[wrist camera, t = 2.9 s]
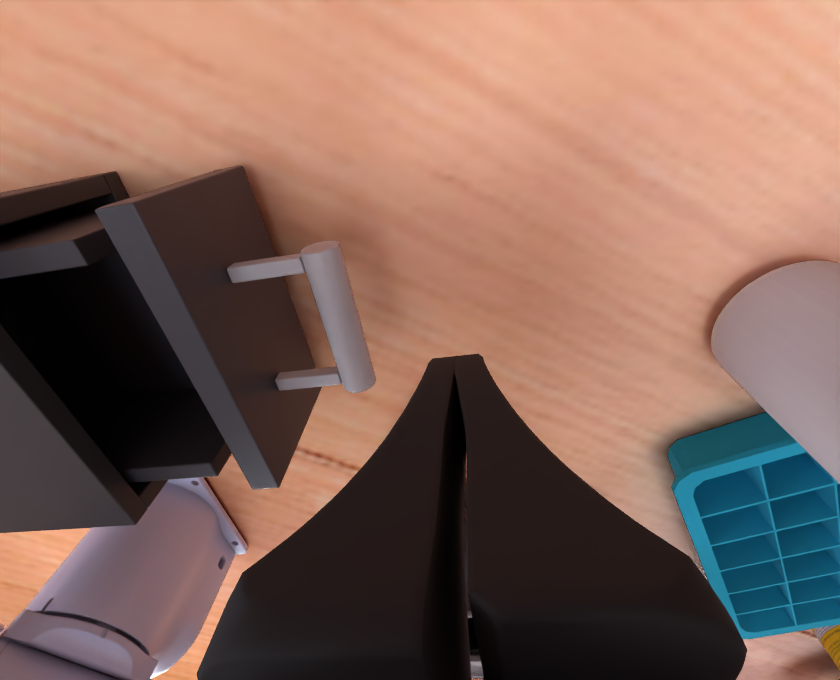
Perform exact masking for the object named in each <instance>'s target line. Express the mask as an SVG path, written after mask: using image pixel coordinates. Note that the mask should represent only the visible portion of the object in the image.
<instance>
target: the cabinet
mask: <svg viewBox="0 0 840 680" xmlns="http://www.w3.org/2000/svg"><path fill="white" fill-rule="evenodd" d="M128 198H129V196H128V194H127V192H126V190H125V188H124V186H123V185H122V183H121V181H120V179H119V177H118V175H117V173H116V172H109V173H103V174H98V175H93V176H87V177H82V178H77V179H71V180H66V181H61V182H55V183H50V184H44V185H39V186H34V187H28V188H23V189H18V190H12V191H7V192H2V193H0V227H5V226H10V225H16V224H22V223H28V222H33V221H39V220H45V219H51V218H56V217H62V216H68V215H74V214H79V213H85V212H91V211H95V210H96V209H97V208H100V207H103V206H106V205H109V204H112V203H115V202H118V201H121V200H125V199H128ZM167 481H168V480H159V481H145V482H131V483H127V482H126V481H125V480H124V478H123V477H122V476H121V475H120V473H119V472H118V471H117V470H116V468H115V467H114V466H113V464H112V463H111V462H110V461H109V459H108V458H107V457H106V456H105V454H104V453H103V452H102V451H101V449H100V448H99V447H98V446H97V444H96V443H95V442H94V441H93V439H92V438H91V437H90V436H89V434H88V433H87V432H86V431H85V429H84V428H83V427H82V426H81V424H80V423H79V422H78V420H77V419H76V418H75V417H74V415H73V414H72V413H71V412H70V410H69V409H68V408H67V407H66V405H65V404H64V403H63V402H62V400H61V399H60V398H59V397H58V395H57V394H56V393H55V392H54V390H53V389H52V388H51V387H50V385H49V384H48V383H47V382H46V380H45V379H44V378H43V377H42V375H41V374H40V373H39V371H38V370H37V369H36V368H35V366H34V365H33V364H32V363H31V361H30V360H29V359H28V358H27V356H26V355H25V354H24V353H23V351H22V350H21V349H20V348H19V346H18V345H17V344H16V343H15V341H14V340H13V339H12V338H11V336H10V335H9V334H8V333H7V331H6V330H5V329H4V327H3V326H2V325H1V324H0V533H7V532H24V531H41V530H59V529H76V528H93V527H110V526H127V525H136V524H137V523H138V522H139V520H140V519H141V518H142V516H143V515H144V513H145V512H146V511H147V508H148V507H149V506H150V505H151V503H152V502H153V501H154V499H155V498H156V497H157V495H158V494H159V492H160V491H161V490H162V488H163V487H164V485H165V484H166V483H167Z"/></svg>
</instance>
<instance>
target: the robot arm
mask: <svg viewBox="0 0 840 680" xmlns="http://www.w3.org/2000/svg"><path fill="white" fill-rule="evenodd" d="M466 454H467V493H468V598H469V603H470V608H471V613H472V618H473V623H474V628H475V634H476V639H477V644H478V649H479V654H480V659H481V664H482V669H483V680H736V678H737V676H738V675H739V673H740V671H741V669H742V667H743V664H744V661H745V657H746V653H747V648H746V646H745V644H744V642H743V639H742V637H741V635H740V633H739V631H738V629H737V627H736V625H735V623H734V621H733V620H732V618H731V616H730V615H729V613H728V611H727V610H726V608H725V606H724V605H723V603H722V602H721V600H720V599H719V597H718V596H717V594H716V593H715V592H714V590H713V589H712V587H711V586H710V584H709V583H708V581H707V580H706V579H705V577H704V576H703V574H702V573H701V572H700V570H699V569H698V568H697V566H696V565H695V563H694V562H693V561H692V560H691V558H690V557H689V556H688V555H686V554H684V553H683V552H681V551H680V550H678V549H677V548H675V547H674V546H672V545H671V544H669V543H668V542H666V541H665V540H663V539H662V538H660V537H658V536H657V535H655V534H654V533H652V532H651V531H649V530H648V529H646V528H645V527H643V526H642V525H640V524H639V523H638V522H636V521H635V520H633V519H632V518H631V517H629V516H628V515H626V514H625V513H624V512H622V511H621V510H620V509H618V508H617V507H616V506H614V505H613V504H612V503H610V502H609V501H608V500H606V499H605V498H604V497H603V496H601V495H600V494H599V493H598V492H597V491H595V490H594V489H593V488H592V487H591V486H589V485H588V484H587V483H586V482H585V481H583V480H582V479H581V478H580V477H579V476H577V475H576V474H575V473H574V472H573V471H571V470H570V469H569V468H568V467H567V466H566V465H565V464H564V463H563V462H562V461H561V460H560V459H558V458H557V457H556V456H555V455H554V454H553V453H552V452H551V451H550V450H549V449H548V448H547V447H546V446H545V445H544V444H543V443H542V442H541V441H540V440H539V439H538V437H537V436H536V435H535V434H534V433H533V432H532V431H531V430H530V429H529V427H528V426H527V425H526V424H525V423H524V421H523V420H522V419H521V418H520V417H519V415H518V414H517V413H516V412H515V410H514V409H513V408H512V406H511V405H510V404H509V402H508V401H507V399H506V398H505V397H504V395H503V394H502V392H501V391H500V389H499V388H498V386H497V385H496V383H495V382H494V380H493V378H492V376H491V375H490V373H489V371H488V369H487V367H486V365H485V362H484V359H483V357H482V356H481V355H479V354H471V355H462V356H453V357H443V358H434V359H432V360H431V361H430V362H429V363H428V366H427V368H426V371H425V373H424V375H423V377H422V379H421V381H420V383H419V385H418V387H417V389H416V391H415V393H414V394H413V396H412V398H411V399H410V401H409V403H408V405H407V406H406V408H405V410H404V411H403V413H402V415H401V416H400V418H399V419H398V421H397V422H396V424H395V425H394V427H393V428H392V430H391V431H390V433H389V434H388V435H387V437H386V438H385V440H384V441H383V442H382V444H381V445H380V446H379V447H378V449H377V450H376V451H375V453H374V454H373V455H372V456H371V457H370V459H369V460H368V461H367V462H366V464H365V465H364V466H363V467H362V468H361V469H360V470H359V471H358V473H357V474H356V475H355V476H354V477H353V478H352V479H351V480H350V481H349V482H348V484H347V485H346V486H345V487H344V488H343V489H342V490H341V491H340V492H339V493H338V494H337V495H336V496H335V497H334V498H333V499H332V500H331V501H330V502H329V503H327V504H326V505H325V506H324V507H323V508H322V509H321V510H320V511H319V512H318V513H317V514H315V515H314V516H313V517H312V518H311V519H310V520H309V521H308V522H307V523H305V524H304V525H303V526H302V527H301V528H300V529H298V530H297V531H296V532H295V533H294V534H292V535H291V536H290V537H289V538H287V539H286V540H285V541H284V542H282V543H281V544H280V545H278V546H277V547H276V548H275V549H273V550H272V551H271V552H269V553H268V554H267V555H265V556H264V557H263V558H262V559H260V560H259V561H258V562H256V563H255V564H254V565H252V566H251V567H250V568H248V569H247V570H246V571H244V572H243V573H242V575H241V577H240V579H239V581H238V583H237V585H236V587H235V588H234V590H233V592H232V594H231V596H230V598H229V600H228V602H227V604H226V607H225V609H224V611H223V613H222V616H221V618H220V620H219V623H218V625H217V627H216V630H215V632H214V634H213V637H212V639H211V641H210V644H209V646H208V648H207V651H206V653H205V655H204V658H203V660H202V662H201V665H200V667H199V669H198V672H197V678H198V680H472V679H471V663H470V648H469V632H468V616H467V599H466V582H465V564H464V546H463V523H464V496H465V468H466ZM247 550H248V546H247V544H246V543H245V541H244V540H243V538H242V536H241V535H240V533H239V532H238V530H237V529H236V527H235V526H234V524H233V523H232V521H231V519H230V518H229V516H228V515H227V513H226V512H225V510H224V509H223V507H222V505H221V504H220V502H219V501H218V499H217V498H216V496H215V495H214V493H213V492H212V490H211V488H210V487H209V485H208V484H207V482H206V481H205V479H204V478H203V477H199V478H186V479H172V480H168V481H167V483H166V484H165V485H164V487H163V488H162V490H161V491H160V492H159V494H158V495H157V497H156V498H155V499H154V501H153V502H152V503H151V505H150V506H149V507H148V508H147V511H146V512H145V513H144V515H143V516H142V518H141V519H140V520H139V522H138V523H137V524H136V525H127V526H110V527H93V528H91V529H90V530H89V531H88V532H87V533H86V535H85V536H84V537H83V538H82V540H81V541H80V542H79V543H78V544H77V546H76V547H75V548H74V549H73V551H72V552H71V553H70V554H69V555H68V557H67V558H66V559H65V560H64V562H63V563H62V564H61V565H60V566H59V568H58V569H57V570H56V571H55V572H54V574H53V575H52V576H51V577H50V579H49V580H48V581H47V582H46V583H45V585H44V586H43V587H42V588H41V590H40V591H39V592H38V593H37V594H36V596H35V597H34V598H33V599H32V601H31V602H30V603H29V604H28V605H27V607H26V608H25V609H24V610H23V611H22V612H21V613H20V614H19V615H18V616H17V617H16V618H15V619H14V620H13V621H12V622H11V623H10V624H9V625H8V626H7V627H6V628H5V629H4V627H5V625H3V624H0V680H152V679H150V678H153V677H155V676H157V675H159V674H161V673H163V672H165V671H166V670H168V669H169V668H170V667H172V666H173V665H174V664H175V663H176V662H177V661H178V660H179V659H180V658H181V657H182V656H183V655H184V654H185V653H186V652H187V651H188V649H189V648H190V647H191V645H192V644H193V643H194V641H195V639H196V638H197V636H198V634H199V633H200V631H201V629H202V626H203V624H204V622H205V620H206V618H207V616H208V613H209V611H210V609H211V607H212V605H213V602H214V600H215V598H216V596H217V594H218V592H219V589H220V587H221V585H222V583H223V581H224V578H225V576H226V574H227V572H228V570H229V567H230V565H231V563H232V561H233V559H234V557H235V554H245V553H246V552H247ZM3 629H4V630H3ZM2 630H3V631H2ZM1 631H2V632H1Z"/></svg>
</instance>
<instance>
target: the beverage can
mask: <svg viewBox="0 0 840 680" xmlns="http://www.w3.org/2000/svg"><path fill="white" fill-rule="evenodd" d="M711 348H712V352H713V355H714V358H715V359H716V361H717V363H718V364H719V365H720V366H721V367H722V368H723V369H724V370H725V371H726V372H727V373H728V374H729V375H730V376H731V377H732V378H733V379H734V380H735V381H736V382H737V383H738V384H739V385H740V386H741V387H742V388H743V389H744V390H745V391H746V392H747V393H748V394H749V395H750V396H751V397H752V398H753V399H754V400H755V401H756V402H757V403H758V404H759V405H760V406H761V407H762V408H763V409H764V410H765V411H766V412H767V413H768V414H769V415H770V416H771V417H772V418H773V419H774V420H775V421H776V422H777V423H778V424H779V425H780V426H781V427H782V428H783V429H784V430H785V431H786V432H788V433H789V434H790V435H791V436H792V437H793V438H794V439H795V440H796V441H797V442H798V443H799V444H800V445H801V446H802V447H803V448H804V449H805V450H806V451H807V452H808V453H809V454H810V455H811V456H812V457H813V458H814V459H815V460H816V461H817V462H818V463H819V464H820V465H821V466H822V467H823V468H824V469H825V470H826V471H827V472H828V473H829V474H830V475H831V476H832V477H833V478H834V479H835V480H836V481H837V482H838V483H839V484H840V263H837V262H831V261H822V260H815V261H804V262H798V263H793V264H789V265H786V266H783V267H780V268H777V269H775V270H773V271H771V272H768V273H766V274H764V275H762V276H761V277H759V278H757V279H756V280H754V281H752V282H751V283H749V284H748V285H747V286H745V287H744V288H743V289H742V290H740V291H739V292H738V293H737V294H736V295H735V296H734V297H733V298H732V299H731V300H730V301H729V302H728V303H727V305H726V306H725V307H724V308H723V310H722V311H721V313H720V315H719V316H718V318H717V320H716V322H715V325H714V327H713V330H712V335H711Z"/></svg>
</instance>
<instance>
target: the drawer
mask: <svg viewBox="0 0 840 680" xmlns="http://www.w3.org/2000/svg"><path fill="white" fill-rule="evenodd" d="M305 272H306V273H307V276H308V279H309V282H310V285H311V289H312V292H313V295H314V298H315V301H316V304H317V307H318V310H319V313H320V316H321V319H322V322H323V325H324V328H325V331H326V334H327V337H328V340H329V343H330V347H331V350H332V353H333V356H334V359H335V362H336V365H337V366H336V367H327V368H317V369H316V366H315V363H314V361H313V358H312V355H311V352H310V350H309V347H308V344H307V341H306V339H305V336H304V333H303V330H302V327H301V325H300V322H299V319H298V316H297V314H296V311H295V308H294V305H293V302H292V300H291V297H290V294H289V291H288V289H287V286H286V283H285V280H284V278H283V276H288V275H295V274H302V273H305ZM0 324H1V325H2V326H3V327H4V329H5V330H6V331H7V333H8V334H9V335H10V336H11V338H12V339H13V340H14V341H15V343H16V344H17V345H18V346H19V348H20V349H21V350H22V351H23V353H24V354H25V355H26V356H27V358H28V359H29V360H30V361H31V363H32V364H33V365H34V366H35V368H36V369H37V370H38V371H39V373H40V374H41V375H42V377H43V378H44V379H45V380H46V382H47V383H48V384H49V385H50V387H51V388H52V389H53V390H54V392H55V393H56V394H57V395H58V397H59V398H60V399H61V400H62V402H63V403H64V404H65V405H66V407H67V408H68V409H69V410H70V412H71V413H72V414H73V415H74V417H75V418H76V419H77V420H78V422H79V423H80V424H81V426H82V427H83V428H84V429H85V431H86V432H87V433H88V434H89V436H90V437H91V438H92V439H93V441H94V442H95V443H96V444H97V446H98V447H99V448H100V449H101V451H102V452H103V453H104V454H105V456H106V457H107V458H108V459H109V461H110V462H111V463H112V464H113V466H114V467H115V468H116V470H117V471H118V472H119V473H120V475H121V476H122V477H123V478H124V480H125V481H126V482H127V483H131V482H145V481H159V480H172V479H186V478H199V477H213V476H218V475H219V473H220V472H221V470H222V468H223V467H224V465H225V463H226V462H227V460H228V458H229V457H230V455H231V453H232V454H233V456H234V457H235V459H236V461H237V463H238V465H239V466H240V468H241V470H242V472H243V473H244V475H245V477H246V479H247V480H248V482H249V484H250V486H251V488H252V489H269V488H279V487H280V485H281V482H282V480H283V478H284V475H285V473H286V470H287V468H288V466H289V463H290V461H291V459H292V456H293V454H294V452H295V449H296V447H297V445H298V442H299V440H300V437H301V435H302V433H303V430H304V428H305V426H306V423H307V421H308V419H309V416H310V414H311V411H312V409H313V407H314V404H315V402H316V400H317V397H318V395H319V393H320V390H321V388H322V386H331V385H340V384H341V383H343V386H344V389H345V390H346V391H348V392H351V393H359V392H363V391H366V390H368V389H369V388H371V387H372V386H373V385H374V384H375V381H376V376H375V372H374V369H373V365H372V361H371V358H370V354H369V350H368V347H367V343H366V339H365V336H364V332H363V328H362V325H361V321H360V317H359V314H358V310H357V306H356V303H355V299H354V295H353V292H352V288H351V284H350V280H349V277H348V273H347V269H346V266H345V262H344V258H343V255H342V251H341V247H340V244H339V242H338V241H333V240H328V241H321V242H317V243H313V244H310V245H308V246H306V247H304V248H303V249H301V250H300V253H299V254H292V255H285V256H278V257H276V255H275V253H274V250H273V247H272V244H271V241H270V239H269V236H268V233H267V230H266V228H265V225H264V222H263V219H262V217H261V214H260V211H259V208H258V205H257V203H256V200H255V197H254V194H253V192H252V189H251V186H250V183H249V180H248V178H247V175H246V172H245V169H244V167H243V166H236V167H230V168H224V169H219V170H215V171H212V172H209V173H206V174H203V175H199V176H196V177H193V178H190V179H187V180H184V181H181V182H178V183H175V184H171V185H168V186H165V187H162V188H159V189H156V190H153V191H150V192H146V193H143V194H140V195H137V196H134V197H131V198H128V199H125V200H121V201H118V202H115V203H112V204H109V205H106V206H103V207H100V208H97V209H96V210H95V211H91V212H85V213H79V214H74V215H68V216H62V217H56V218H51V219H45V220H39V221H33V222H28V223H22V224H16V225H10V226H5V227H0Z"/></svg>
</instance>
